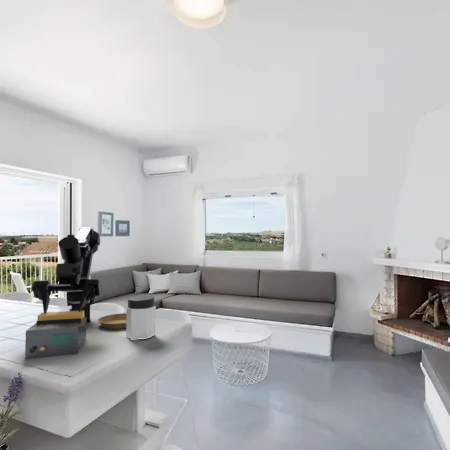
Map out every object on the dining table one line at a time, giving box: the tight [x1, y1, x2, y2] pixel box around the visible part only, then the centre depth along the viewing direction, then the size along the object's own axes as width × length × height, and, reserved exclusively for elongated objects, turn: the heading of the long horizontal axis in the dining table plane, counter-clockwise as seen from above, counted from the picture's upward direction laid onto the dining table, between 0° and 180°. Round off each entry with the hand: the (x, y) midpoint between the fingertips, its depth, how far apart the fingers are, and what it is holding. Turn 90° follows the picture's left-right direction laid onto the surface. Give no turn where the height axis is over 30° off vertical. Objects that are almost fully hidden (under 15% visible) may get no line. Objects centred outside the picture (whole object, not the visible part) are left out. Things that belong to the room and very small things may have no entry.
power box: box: [24, 314, 87, 359], centre depth 88 cm, size 13×12×8 cm
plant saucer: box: [97, 312, 127, 330], centre depth 113 cm, size 15×15×3 cm
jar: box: [125, 295, 157, 340], centre depth 99 cm, size 9×8×12 cm
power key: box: [37, 310, 84, 321], centre depth 91 cm, size 4×11×2 cm, turn 104°
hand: (62, 311), depth 92 cm, fingers open, 9 cm apart
